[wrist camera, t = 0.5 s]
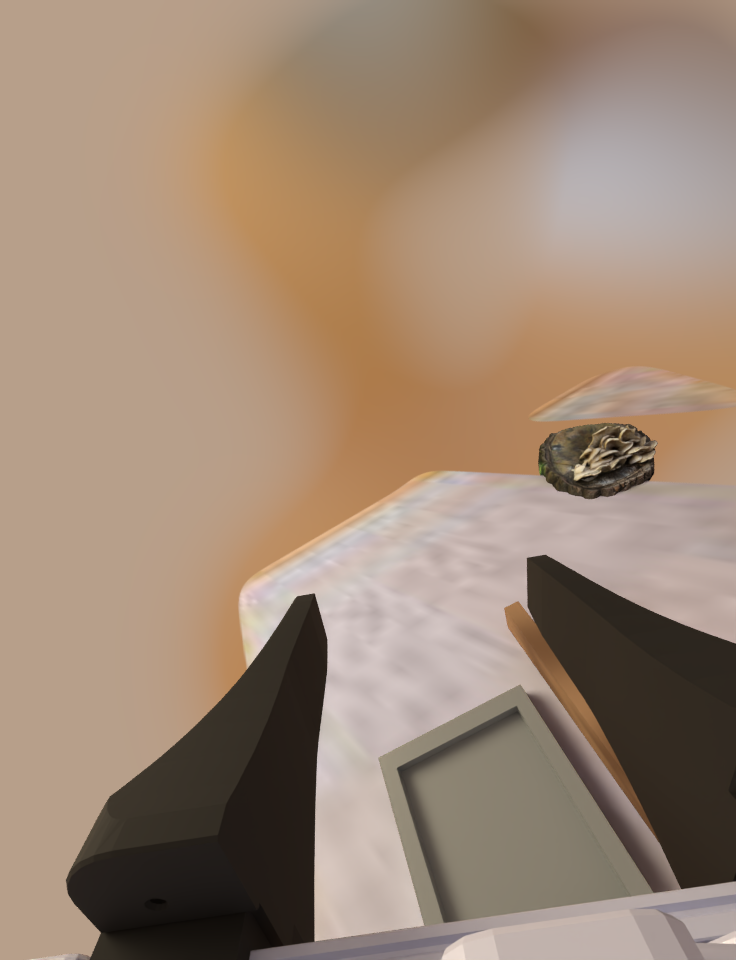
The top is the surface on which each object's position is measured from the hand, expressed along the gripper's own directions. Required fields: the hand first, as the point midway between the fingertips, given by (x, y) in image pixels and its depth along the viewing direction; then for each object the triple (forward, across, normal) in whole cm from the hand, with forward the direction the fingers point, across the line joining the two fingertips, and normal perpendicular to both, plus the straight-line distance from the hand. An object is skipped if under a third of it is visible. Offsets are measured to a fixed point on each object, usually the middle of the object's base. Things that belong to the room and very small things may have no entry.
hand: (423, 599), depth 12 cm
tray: (+2, -3, +20) cm, 20 cm away
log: (+28, -23, +9) cm, 37 cm away
